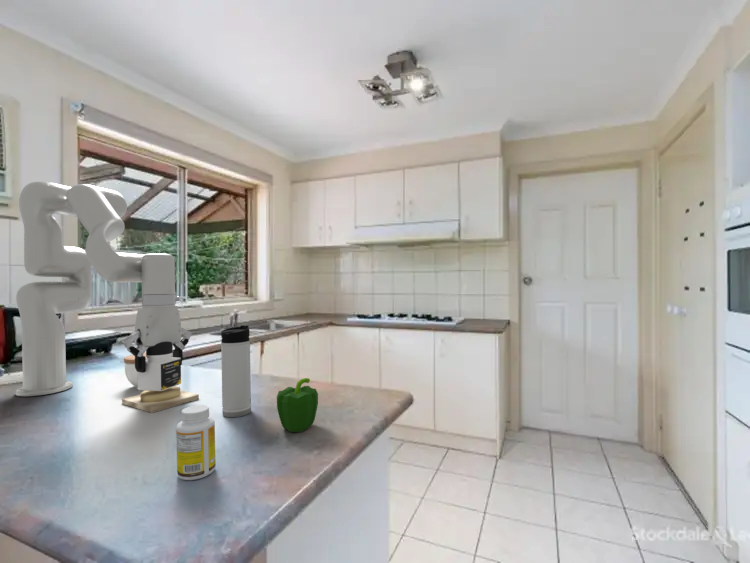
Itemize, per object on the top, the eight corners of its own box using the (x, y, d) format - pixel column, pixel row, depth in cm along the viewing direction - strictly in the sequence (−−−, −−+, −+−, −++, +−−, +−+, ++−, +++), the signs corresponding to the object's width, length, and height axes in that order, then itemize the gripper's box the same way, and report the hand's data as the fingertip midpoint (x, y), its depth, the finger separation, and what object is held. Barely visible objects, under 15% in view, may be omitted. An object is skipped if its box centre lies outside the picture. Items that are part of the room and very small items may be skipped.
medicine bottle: (161, 391, 95) (161, 343, 95) (137, 390, 96) (136, 342, 96) (181, 384, 102) (181, 338, 102) (158, 382, 103) (158, 338, 103)
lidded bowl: (145, 379, 122) (145, 345, 122) (182, 380, 120) (181, 345, 120) (113, 391, 110) (112, 352, 110) (153, 392, 108) (152, 352, 108)
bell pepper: (275, 438, 74) (275, 386, 74) (278, 422, 82) (277, 376, 82) (319, 433, 76) (318, 383, 76) (317, 419, 84) (316, 373, 84)
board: (122, 403, 98) (122, 393, 98) (168, 391, 108) (168, 382, 108) (151, 412, 90) (151, 401, 90) (198, 399, 100) (198, 388, 100)
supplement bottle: (205, 461, 65) (204, 401, 65) (222, 471, 61) (221, 407, 61) (170, 474, 61) (169, 409, 61) (186, 486, 57) (185, 417, 57)
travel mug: (257, 410, 91) (256, 325, 91) (237, 419, 85) (235, 329, 85) (237, 406, 94) (236, 324, 94) (216, 415, 88) (214, 328, 88)
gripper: (182, 299, 108) (183, 360, 108) (114, 303, 94) (115, 373, 94) (198, 300, 104) (199, 363, 104) (130, 303, 90) (131, 377, 90)
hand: (159, 368), depth 99 cm, fingers closed on medicine bottle, 8 cm apart
